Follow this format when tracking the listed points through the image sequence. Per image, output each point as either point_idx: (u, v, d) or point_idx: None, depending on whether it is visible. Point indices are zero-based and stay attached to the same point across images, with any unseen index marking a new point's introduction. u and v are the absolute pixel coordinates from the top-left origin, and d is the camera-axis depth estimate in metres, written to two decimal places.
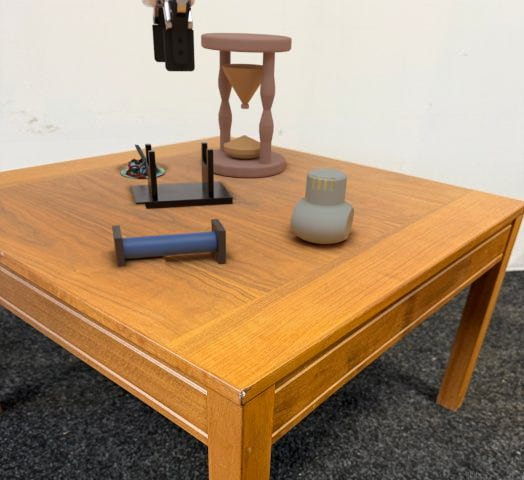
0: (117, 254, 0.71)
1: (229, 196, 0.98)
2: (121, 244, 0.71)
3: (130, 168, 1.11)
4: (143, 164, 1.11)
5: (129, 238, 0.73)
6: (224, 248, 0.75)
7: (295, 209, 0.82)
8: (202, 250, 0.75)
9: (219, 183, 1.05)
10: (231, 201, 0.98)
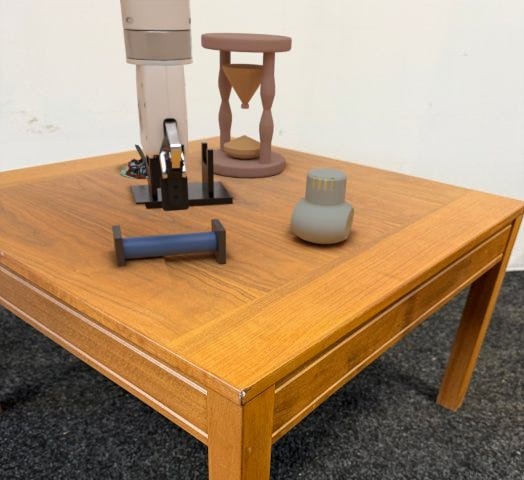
0: (117, 254, 0.71)
1: (229, 196, 0.98)
2: (121, 244, 0.71)
3: (130, 168, 1.11)
4: (143, 164, 1.11)
5: (129, 238, 0.73)
6: (224, 248, 0.75)
7: (295, 209, 0.82)
8: (202, 250, 0.75)
9: (219, 183, 1.05)
10: (231, 201, 0.98)
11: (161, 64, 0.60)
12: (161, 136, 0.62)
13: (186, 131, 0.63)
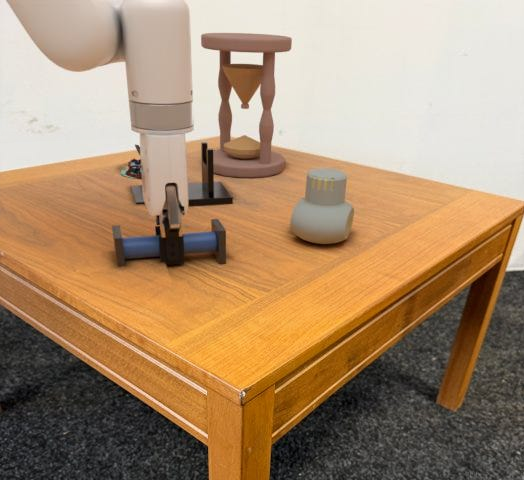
0: (117, 254, 0.71)
1: (229, 196, 0.98)
2: (121, 244, 0.71)
3: (130, 168, 1.11)
4: None
5: (129, 238, 0.73)
6: (224, 248, 0.75)
7: (295, 209, 0.82)
8: (202, 250, 0.75)
9: (219, 183, 1.05)
10: (231, 201, 0.98)
11: (164, 134, 0.64)
12: (163, 199, 0.66)
13: (186, 194, 0.67)
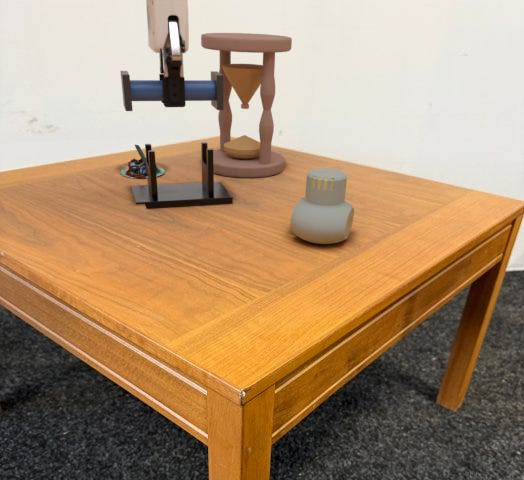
0: (125, 91, 0.79)
1: (229, 196, 0.98)
2: (128, 81, 0.78)
3: (130, 168, 1.11)
4: (143, 164, 1.11)
5: (136, 80, 0.80)
6: (222, 93, 0.82)
7: (295, 209, 0.82)
8: (202, 96, 0.83)
9: (219, 183, 1.05)
10: (231, 201, 0.98)
11: None
12: (166, 31, 0.74)
13: (187, 28, 0.75)
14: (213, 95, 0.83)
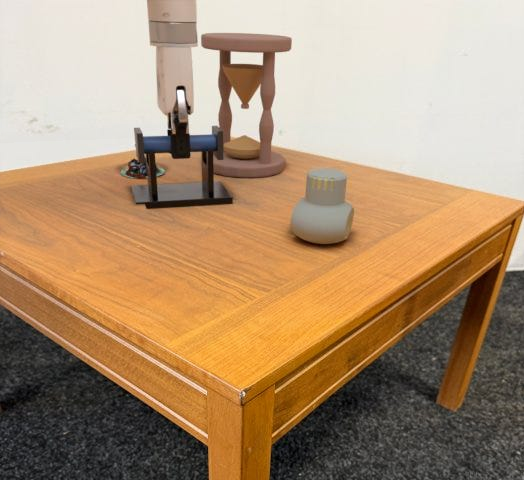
0: (138, 147, 0.91)
1: (229, 196, 0.98)
2: (142, 138, 0.91)
3: (130, 168, 1.11)
4: (143, 164, 1.11)
5: (147, 136, 0.93)
6: (222, 146, 0.95)
7: (295, 209, 0.82)
8: (204, 148, 0.96)
9: (219, 183, 1.05)
10: (231, 201, 0.98)
11: (175, 46, 0.84)
12: (174, 98, 0.86)
13: (192, 95, 0.87)
14: (214, 147, 0.96)
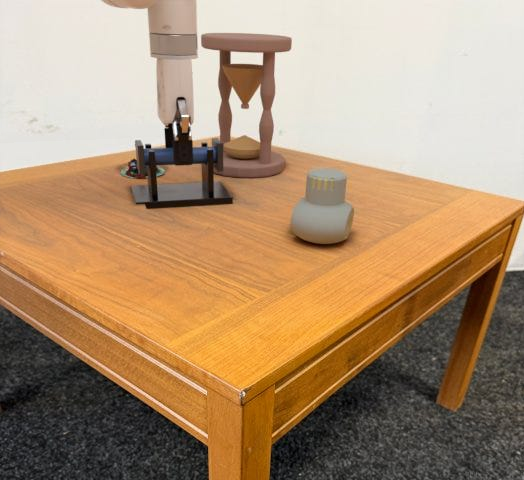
0: (139, 159, 0.92)
1: (229, 196, 0.98)
2: (142, 151, 0.92)
3: (130, 168, 1.11)
4: None
5: None
6: (222, 158, 0.96)
7: (295, 209, 0.82)
8: (205, 160, 0.97)
9: (219, 183, 1.05)
10: (231, 201, 0.98)
11: (176, 58, 0.85)
12: (174, 109, 0.87)
13: (192, 106, 0.88)
14: (214, 159, 0.97)
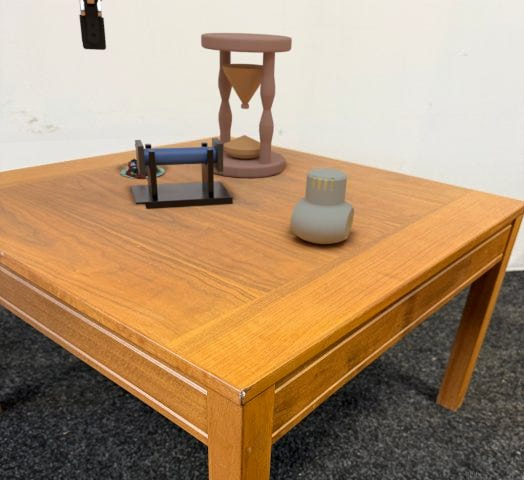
0: (139, 159, 0.92)
1: (229, 196, 0.98)
2: (142, 151, 0.92)
3: (130, 168, 1.11)
4: None
5: (148, 149, 0.94)
6: (222, 158, 0.96)
7: (295, 209, 0.82)
8: (205, 160, 0.97)
9: (219, 183, 1.05)
10: (231, 201, 0.98)
11: None
12: None
13: None
14: (214, 159, 0.97)
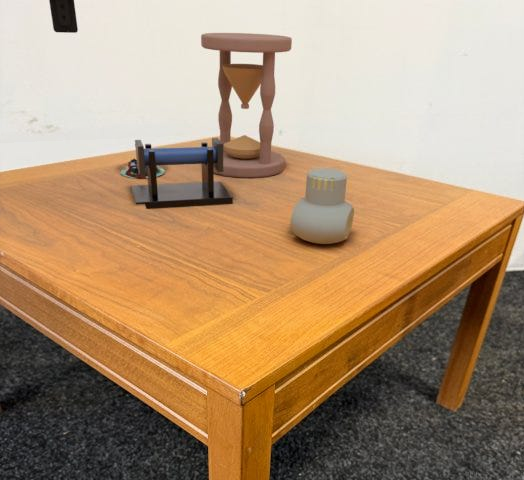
0: (139, 159, 0.92)
1: (229, 196, 0.98)
2: (143, 151, 0.92)
3: (130, 168, 1.11)
4: None
5: (148, 149, 0.94)
6: (222, 159, 0.96)
7: (295, 209, 0.82)
8: (205, 160, 0.97)
9: (219, 183, 1.05)
10: (231, 201, 0.98)
11: None
12: None
13: None
14: (214, 159, 0.97)
